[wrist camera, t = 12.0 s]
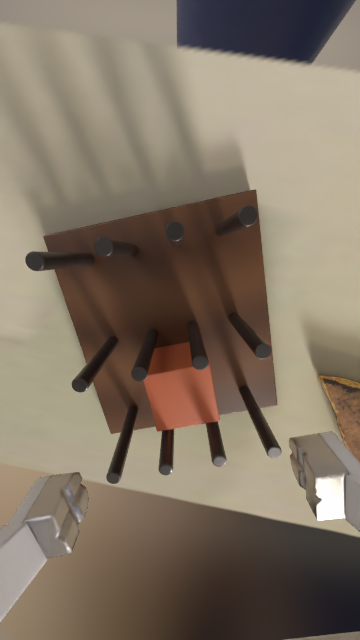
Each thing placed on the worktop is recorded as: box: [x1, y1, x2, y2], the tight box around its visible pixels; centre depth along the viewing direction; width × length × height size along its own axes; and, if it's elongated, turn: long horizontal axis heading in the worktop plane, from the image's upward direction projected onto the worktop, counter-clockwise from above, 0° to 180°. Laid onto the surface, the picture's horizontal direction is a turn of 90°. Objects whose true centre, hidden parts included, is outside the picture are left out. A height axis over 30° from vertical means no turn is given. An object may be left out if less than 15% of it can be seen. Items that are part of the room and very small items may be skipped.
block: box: [143, 342, 220, 431], centre depth 16 cm, size 4×4×4 cm
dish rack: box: [26, 190, 281, 484], centre depth 14 cm, size 16×14×7 cm
